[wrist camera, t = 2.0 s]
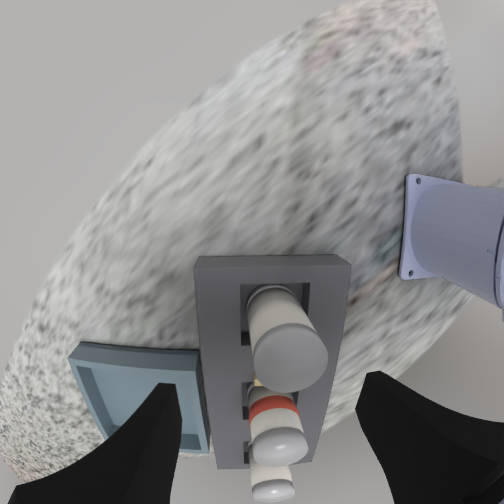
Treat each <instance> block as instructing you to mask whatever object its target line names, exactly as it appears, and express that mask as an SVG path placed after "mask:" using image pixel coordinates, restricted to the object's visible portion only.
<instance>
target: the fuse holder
mask: <svg viewBox="0 0 504 504" xmlns="http://www.w3.org/2000/svg"><path fill="white" fill-rule="evenodd" d="M350 273H351V264H350V263H348V262H347V261H345V260H344V259H342V258H341V257H339V256H338V255H284V256H215V257H199V258H198V260H197V262H196V264H195V267H194V277H195V293H196V306H197V319H198V330H199V341H200V351H201V360H202V369H203V377H204V385H205V393H206V400H207V408H208V414H209V421H210V428H211V434H212V440H213V446H214V451H215V457H216V462H217V467H218V469H248V468H250V465H249V454H248V444H247V441H252V437H251V430H250V425H249V415H248V411H249V408H248V398H247V385H248V383H249V382H254V386H263V385H262V384H261V383H260V382H259V381H258V379H257V377H256V374H255V368H254V361H253V354H252V347H251V340H250V333H249V326H248V319H247V311H246V302H247V298H248V296H249V294H250V293H251V292H252V290H253V289H255V288H256V287H257V286H259V285H261V284H284V285H286V286H288V287H289V288H290V289H291V290H292V292H293V293H294V295H295V297H296V298H297V300H298V302H299V303H300V305H301V307H302V308H303V310H304V312H305V313H306V315H307V317H308V318H309V320H310V322H311V324H312V325H313V327H314V329H315V330H316V332H317V334H318V335H319V337H320V339H321V340H322V342H323V344H324V346H325V347H326V349H327V352H328V364H327V367H326V370H325V371H324V373H323V374H322V376H321V377H320V378H319V379H318V380H317V381H316V382H315V383H313V384H312V385H310V386H309V387H307V388H305V389H302V390H300V391H296V392H292V396H293V399H294V402H295V404H296V406H297V410H298V413H299V416H300V422H301V425H302V429H303V432H304V435H305V438H306V442H307V445H308V452H307V454H306V455H305V456H304V457H303V458H302V459H300V460H299V461H297V462H295V463H292V464H300V463H305V462H311V461H312V459H313V456H314V453H315V449H316V446H317V443H318V440H319V436H320V433H321V429H322V425H323V422H324V418H325V414H326V410H327V406H328V402H329V398H330V394H331V389H332V385H333V380H334V376H335V371H336V366H337V361H338V356H339V350H340V345H341V339H342V333H343V327H344V321H345V314H346V307H347V299H348V291H349V283H350ZM292 464H289V465H292Z"/></svg>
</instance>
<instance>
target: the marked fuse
mask: <svg viewBox="0 0 504 504" xmlns="http://www.w3.org/2000/svg"><path fill="white" fill-rule="evenodd" d="M247 398H248V408H249V411H248V415H249V425H250V430H251V437H252V446H253V455H254V460H255V461H256V462H257V463H259V464H261V465H263V466H268V467H280V466H286V465H289V464H292V463H295V462H297V461H299V460H300V459H302V458H303V457H304V456H305V455H306V454H307V452H308V445H307V442H306V438H305V435H304V432H303V429H302V425H301V422H300V416H299V413H298V410H297V406H296V404H295V402H294V399H293V396H292V392H290V393H280V392H275V391H272V390H269V389H267V388H266V387H264V386H254V382H249V383H248V385H247Z"/></svg>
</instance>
